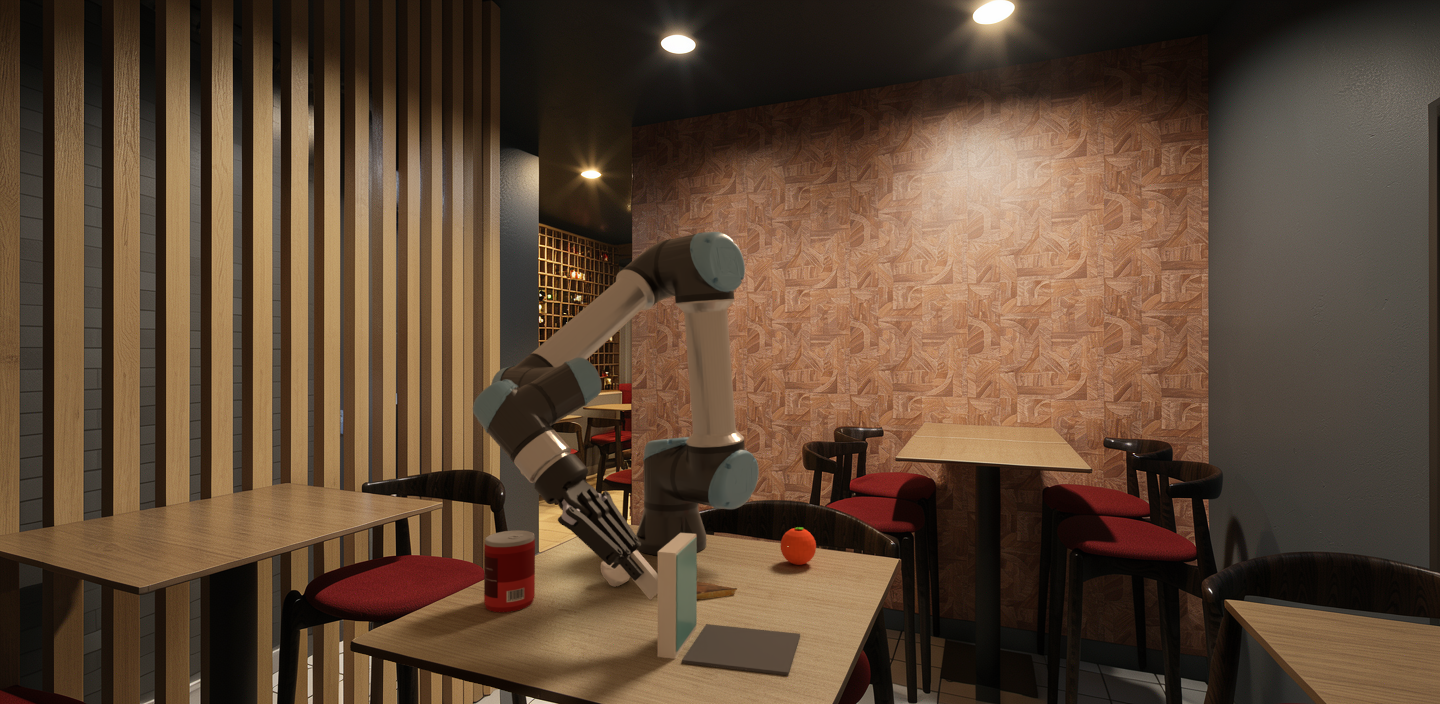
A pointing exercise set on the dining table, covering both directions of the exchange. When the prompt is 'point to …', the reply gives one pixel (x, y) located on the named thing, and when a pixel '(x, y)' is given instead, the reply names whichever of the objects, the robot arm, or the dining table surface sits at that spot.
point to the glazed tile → (677, 594)
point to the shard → (713, 590)
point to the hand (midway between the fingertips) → (658, 592)
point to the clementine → (798, 546)
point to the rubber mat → (744, 649)
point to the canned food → (509, 570)
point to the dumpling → (614, 574)
